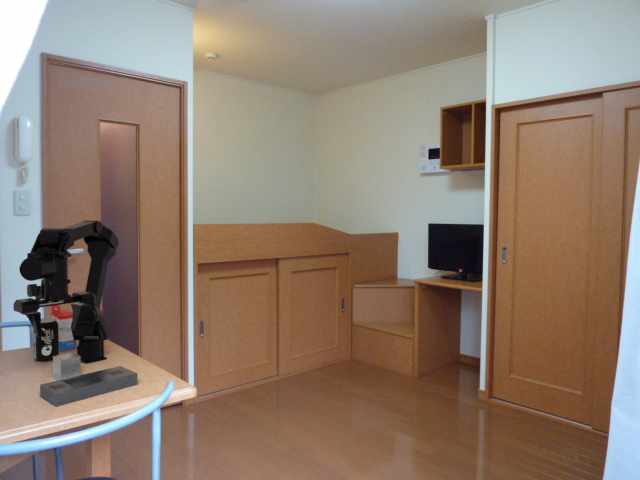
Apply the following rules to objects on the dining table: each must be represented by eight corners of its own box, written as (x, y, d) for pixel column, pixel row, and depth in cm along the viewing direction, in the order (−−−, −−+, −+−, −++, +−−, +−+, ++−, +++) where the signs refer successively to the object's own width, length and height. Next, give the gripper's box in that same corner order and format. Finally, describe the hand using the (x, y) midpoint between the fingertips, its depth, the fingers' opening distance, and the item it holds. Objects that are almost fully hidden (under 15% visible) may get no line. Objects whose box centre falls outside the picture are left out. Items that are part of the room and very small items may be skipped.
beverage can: (63, 357, 149) (63, 318, 148) (45, 363, 143) (44, 323, 142) (47, 355, 151) (47, 317, 151) (28, 361, 145) (28, 321, 144)
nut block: (72, 374, 134) (72, 352, 134) (80, 378, 131) (80, 356, 130) (53, 378, 130) (52, 356, 130) (61, 382, 127) (60, 360, 127)
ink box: (76, 348, 159) (76, 304, 158) (60, 351, 156) (60, 306, 155) (66, 343, 165) (66, 300, 164) (51, 346, 161) (50, 302, 161)
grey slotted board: (120, 376, 132) (120, 365, 132) (137, 384, 126) (137, 373, 126) (40, 396, 117) (40, 384, 117) (55, 406, 111) (55, 393, 111)
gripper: (76, 269, 141) (77, 323, 142) (4, 276, 126) (5, 335, 127) (96, 273, 134) (96, 329, 135) (22, 280, 119) (23, 343, 120)
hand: (56, 333), depth 129 cm, fingers open, 9 cm apart
